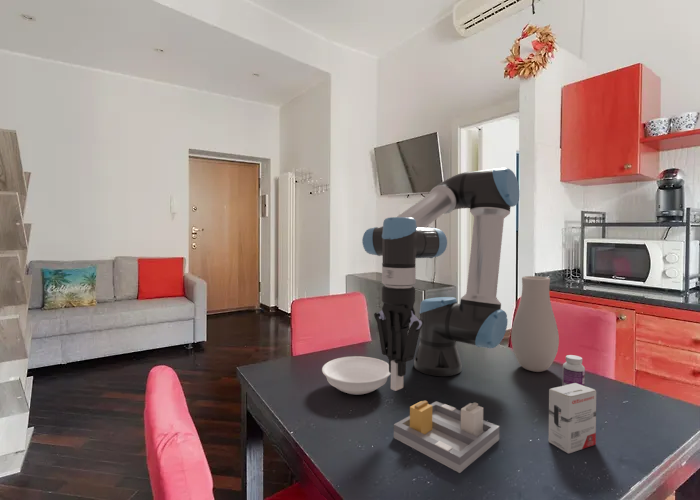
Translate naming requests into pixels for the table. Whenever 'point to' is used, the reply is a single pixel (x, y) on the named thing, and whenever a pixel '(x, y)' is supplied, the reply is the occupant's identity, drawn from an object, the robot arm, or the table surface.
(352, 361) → the bowl
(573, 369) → the pill bottle
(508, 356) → the table surface
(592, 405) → the ink box
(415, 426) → the amber tab
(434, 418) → the frame
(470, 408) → the ivory tab
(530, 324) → the vase
